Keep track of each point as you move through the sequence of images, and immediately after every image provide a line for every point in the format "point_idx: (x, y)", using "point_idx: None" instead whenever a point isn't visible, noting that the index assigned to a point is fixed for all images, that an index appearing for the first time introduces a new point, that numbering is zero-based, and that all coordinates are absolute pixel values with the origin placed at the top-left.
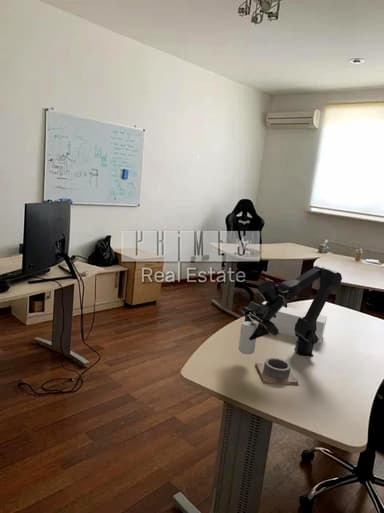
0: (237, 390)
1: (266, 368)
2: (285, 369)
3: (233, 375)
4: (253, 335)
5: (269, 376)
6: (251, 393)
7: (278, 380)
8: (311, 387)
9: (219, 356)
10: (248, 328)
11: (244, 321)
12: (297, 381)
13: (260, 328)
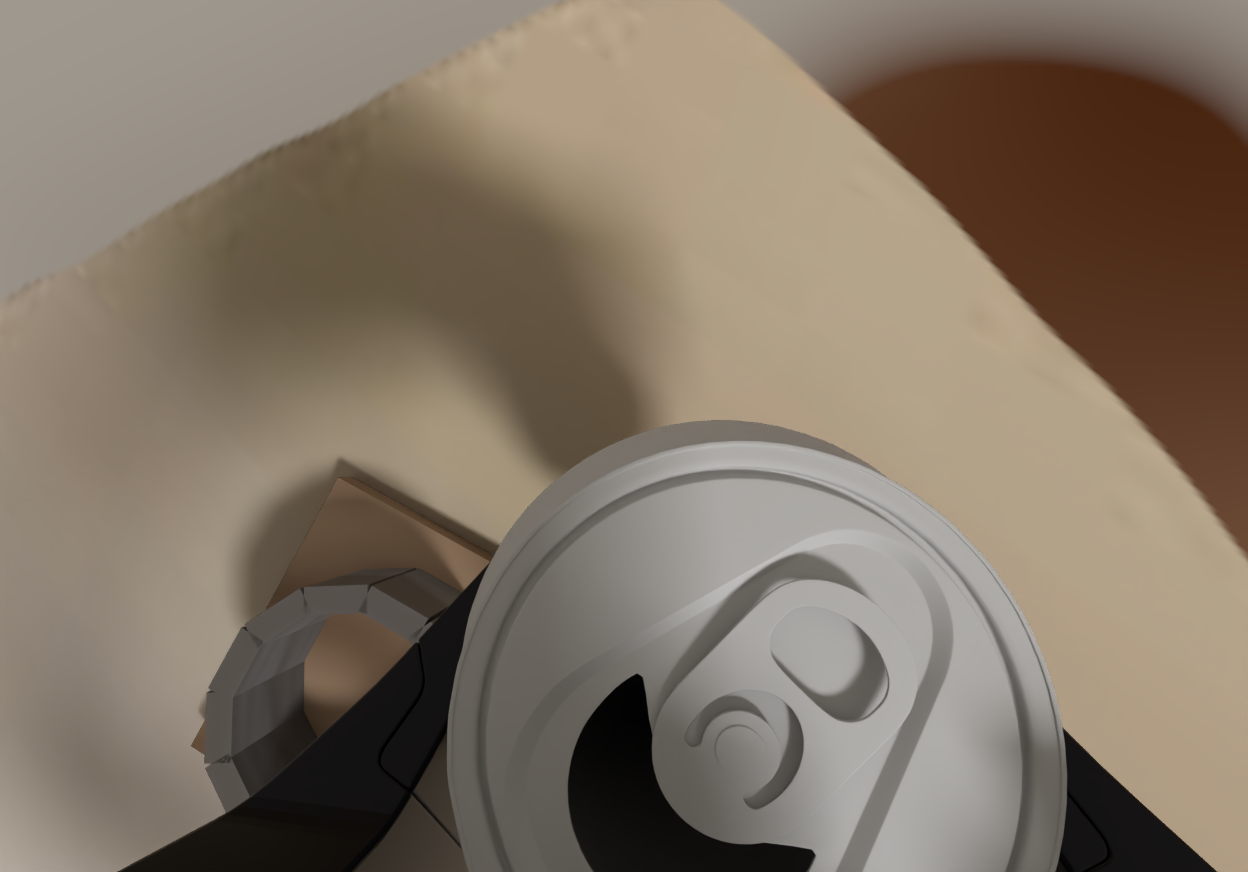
0: (358, 218)
1: (386, 577)
2: (219, 713)
3: (530, 311)
4: (474, 584)
5: (361, 562)
6: (289, 289)
7: (284, 592)
8: (138, 815)
9: (847, 387)
10: (551, 501)
11: (1051, 703)
12: (203, 748)
13: (186, 836)
